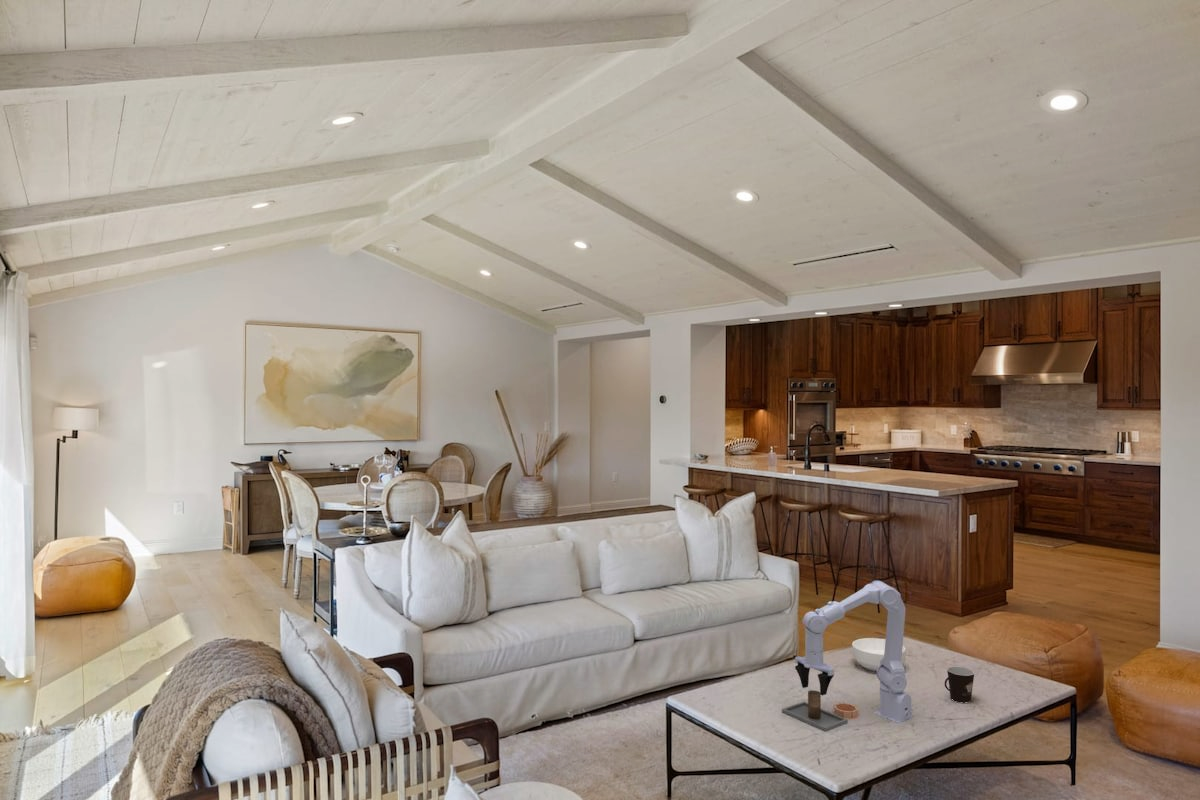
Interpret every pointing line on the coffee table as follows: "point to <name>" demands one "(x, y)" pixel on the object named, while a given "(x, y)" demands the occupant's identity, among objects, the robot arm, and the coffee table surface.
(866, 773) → the coffee table surface
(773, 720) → the coffee table surface
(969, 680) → the coffee mug
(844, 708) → the terracotta cup
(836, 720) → the charcoal tray
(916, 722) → the coffee table surface
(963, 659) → the coffee table surface
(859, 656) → the bowl
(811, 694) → the walnut peg
